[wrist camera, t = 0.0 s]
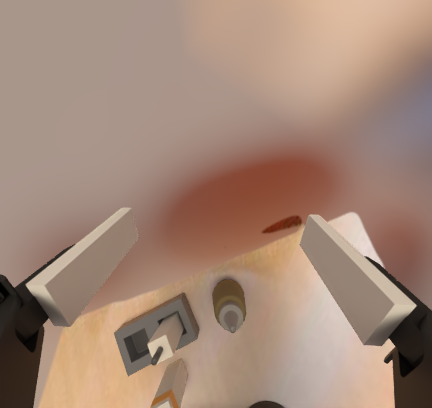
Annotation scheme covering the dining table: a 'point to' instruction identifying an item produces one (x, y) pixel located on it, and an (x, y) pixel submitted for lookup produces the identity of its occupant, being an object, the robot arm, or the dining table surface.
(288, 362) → the dining table surface
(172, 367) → the plug
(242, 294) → the squeeze bottle
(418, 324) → the robot arm
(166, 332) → the twin plug
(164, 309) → the grey flat block
